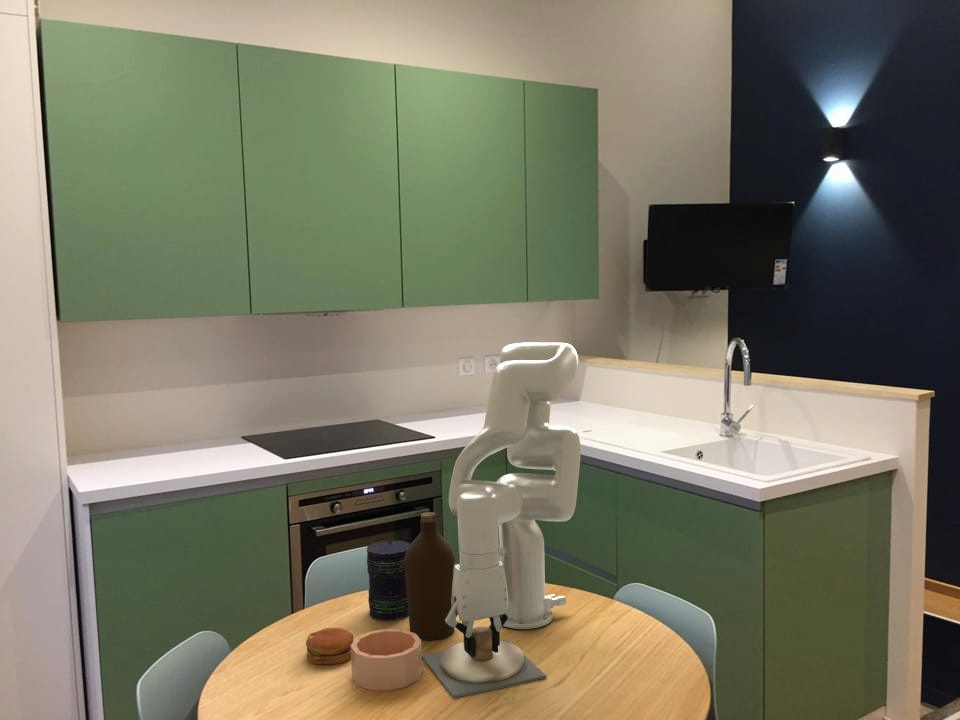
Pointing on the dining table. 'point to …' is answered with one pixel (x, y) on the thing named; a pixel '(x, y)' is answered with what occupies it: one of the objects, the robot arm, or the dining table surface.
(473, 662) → the lid
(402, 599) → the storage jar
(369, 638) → the bowl
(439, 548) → the olive oil
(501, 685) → the mat
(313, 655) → the burger
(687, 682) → the dining table surface
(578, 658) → the dining table surface
